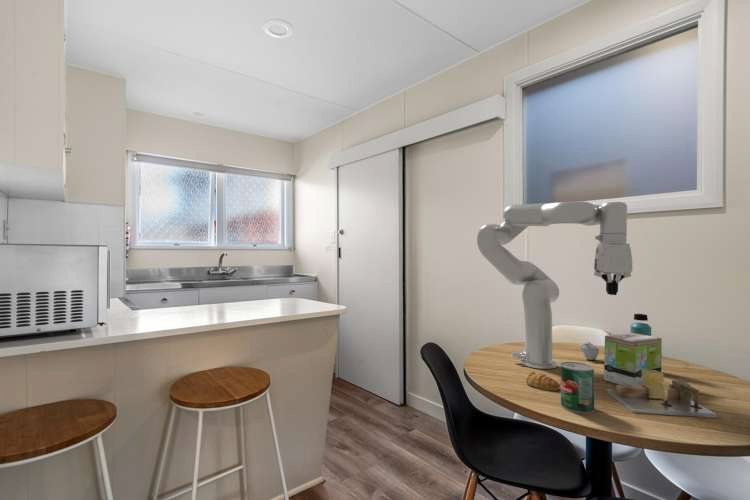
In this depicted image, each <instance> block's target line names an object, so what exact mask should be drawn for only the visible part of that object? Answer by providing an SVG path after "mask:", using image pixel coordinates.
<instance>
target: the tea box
mask: <svg viewBox="0 0 750 500" xmlns="http://www.w3.org/2000/svg"><path fill="white" fill-rule="evenodd" d="M662 343H663V342H662V337H658V336H652V335H651V336H647V335H641V334H636V333H631V332H624V333H617V334H609V335H607V334H606V335H604V356H603V357H604V359H603V360H604V362H603V363H604V364H603V365H604V369H603V370H604V372H603V379H604V381H606V382H610V383H613V384H616V385H623V386H641V387H642V370H656V371H658V372H660V373H662V358H663V357H662V346H663V345H662Z"/></svg>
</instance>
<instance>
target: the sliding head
mask: <svg viewBox="0 0 750 500" xmlns="http://www.w3.org/2000/svg"><path fill="white" fill-rule="evenodd" d="M642 387H647V388H648V397H649V398H660V399H664V404H668V388H670V384H669V383H667V382H665V381H664V373H662V372H661V373H660V372H658V371H656V370H642Z"/></svg>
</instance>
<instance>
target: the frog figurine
mask: <svg viewBox="0 0 750 500" xmlns="http://www.w3.org/2000/svg"><path fill="white" fill-rule="evenodd" d="M579 349H580V351H581V352H582V353H583V356H584V358H585V359H587V360H588V361H594V360H596V359H597V358H598V356H599V354H600V353H599V352H600V348H599V347H598V346H596V345H594V344H593V343H591V342H590V341H583V342H582V343H580V344H579Z"/></svg>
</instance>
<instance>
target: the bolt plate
mask: <svg viewBox="0 0 750 500" xmlns="http://www.w3.org/2000/svg"><path fill="white" fill-rule="evenodd" d="M607 394H608V395H609V396H611V397H612V398H614V400H616V401H617V402H619V403H620V404H621V405H623V407H625V408H627V410H629V412H630V411H631V412H632V413H635V414H636V413H637V414H638V413H639V414H650V415H666V416H667V415H668V416H680V417H681V416H683V417H695V418H696V417H697V418H711V419H713V418H714V419H717V418H718V415H717V413H716V412H714V411H712V410H710V409H709V408H707V407H705V406H703V405H701V404H699V403H698V407H694V400H692V399H691V401H680V400H677V399H668V404H664V399H660V398H643V397H626V396H619V395H618V394H616V389H615V390H614V389H607Z"/></svg>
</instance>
